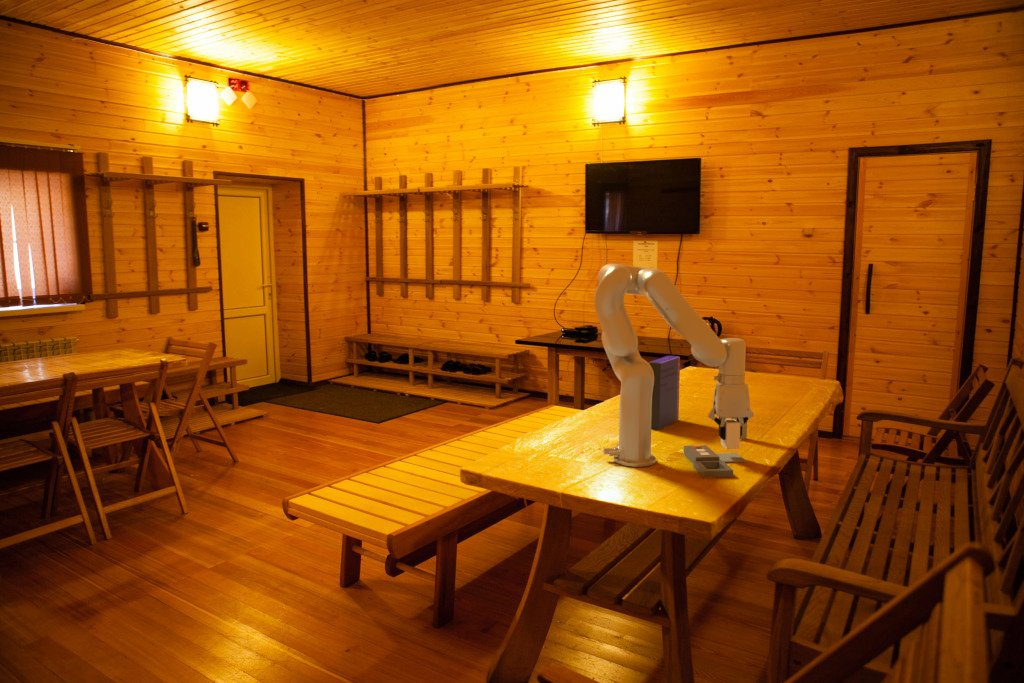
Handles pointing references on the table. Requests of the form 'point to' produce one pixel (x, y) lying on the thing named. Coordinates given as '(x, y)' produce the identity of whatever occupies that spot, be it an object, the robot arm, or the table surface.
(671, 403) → the cereal box
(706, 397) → the table surface
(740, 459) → the rubber mat
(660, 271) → the robot arm
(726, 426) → the plug
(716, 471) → the charging dock
